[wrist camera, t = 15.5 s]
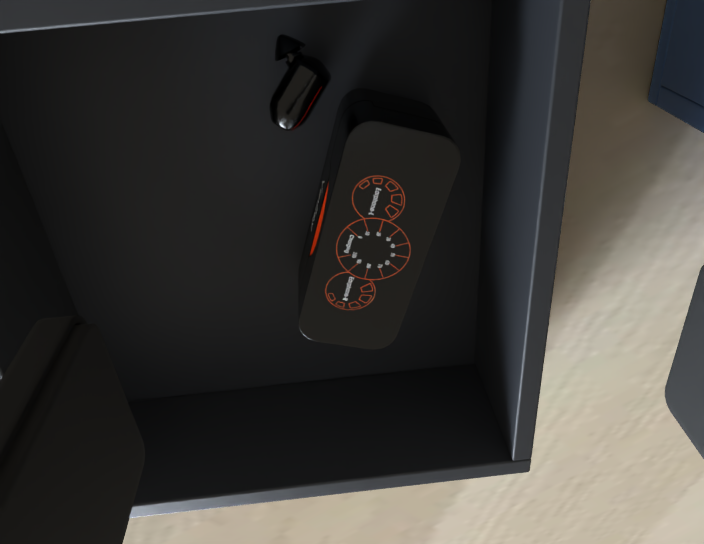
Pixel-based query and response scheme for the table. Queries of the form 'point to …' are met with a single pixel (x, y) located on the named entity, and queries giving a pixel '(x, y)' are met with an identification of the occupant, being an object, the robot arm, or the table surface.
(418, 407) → the charcoal bin
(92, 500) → the robot arm
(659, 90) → the blue bin
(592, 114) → the table surface
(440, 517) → the table surface
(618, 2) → the table surface
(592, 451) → the table surface
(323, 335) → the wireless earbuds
